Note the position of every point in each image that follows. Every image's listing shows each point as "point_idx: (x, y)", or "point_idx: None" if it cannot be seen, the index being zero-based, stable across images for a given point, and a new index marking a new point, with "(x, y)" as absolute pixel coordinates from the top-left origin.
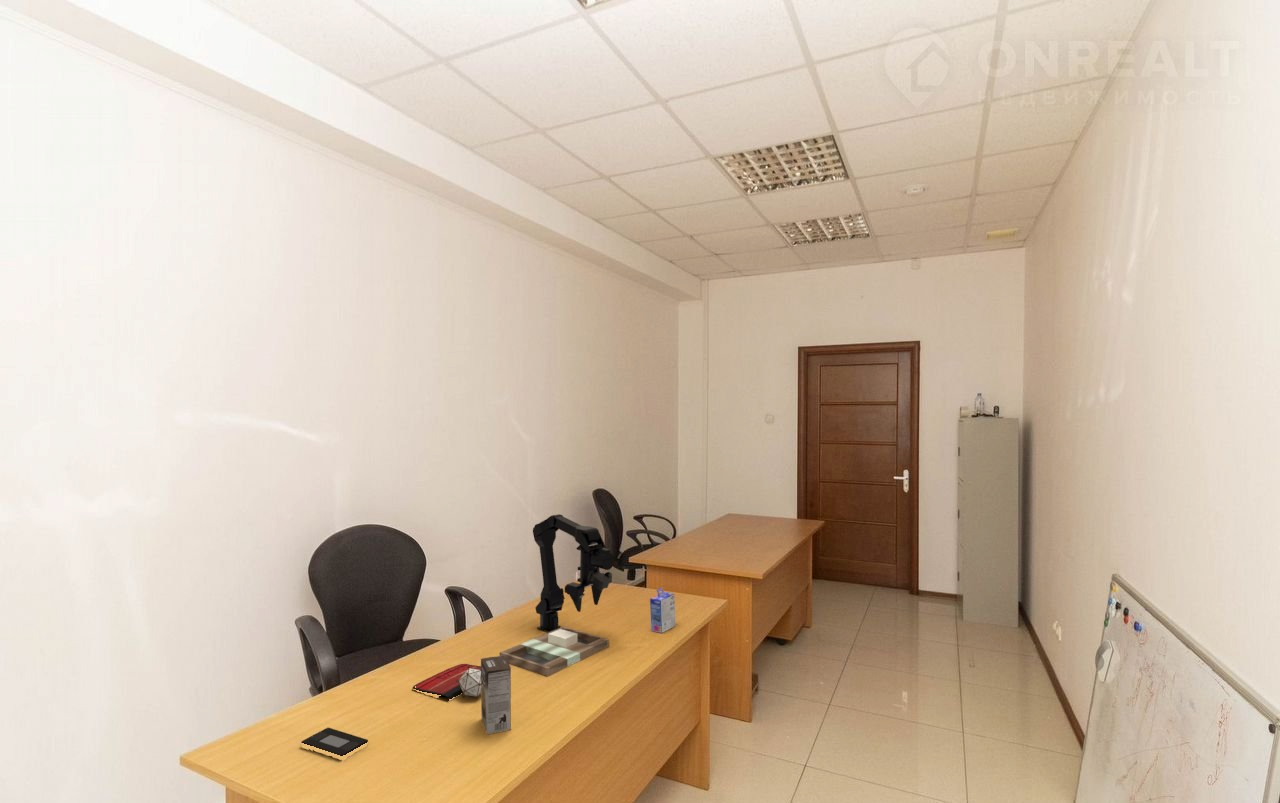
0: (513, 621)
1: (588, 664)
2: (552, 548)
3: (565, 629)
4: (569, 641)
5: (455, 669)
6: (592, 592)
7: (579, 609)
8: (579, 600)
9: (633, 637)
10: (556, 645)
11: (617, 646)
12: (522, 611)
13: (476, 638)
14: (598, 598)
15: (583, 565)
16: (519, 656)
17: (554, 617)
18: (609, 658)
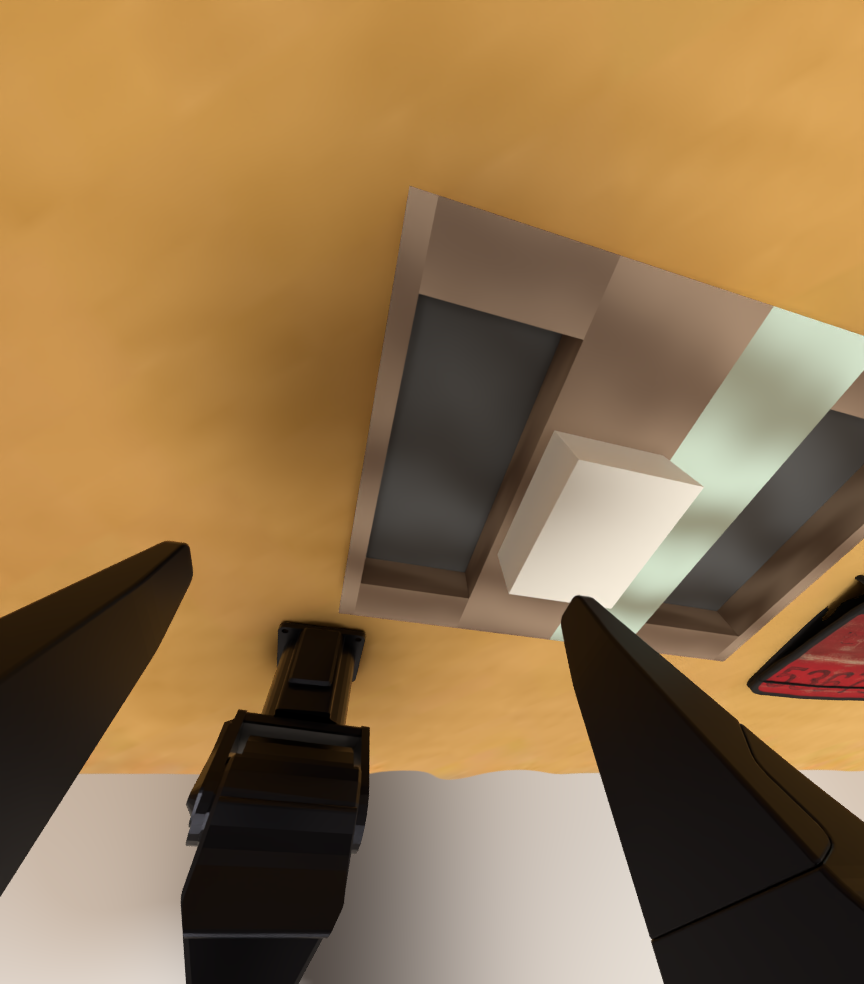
0: None
1: (809, 191)
2: None
3: (368, 586)
4: (645, 461)
5: (816, 684)
6: (30, 843)
7: (625, 626)
8: (849, 816)
9: (50, 14)
10: None
11: (371, 101)
12: None
13: (515, 746)
14: (65, 616)
15: None
16: (672, 599)
17: (315, 687)
18: (682, 25)
